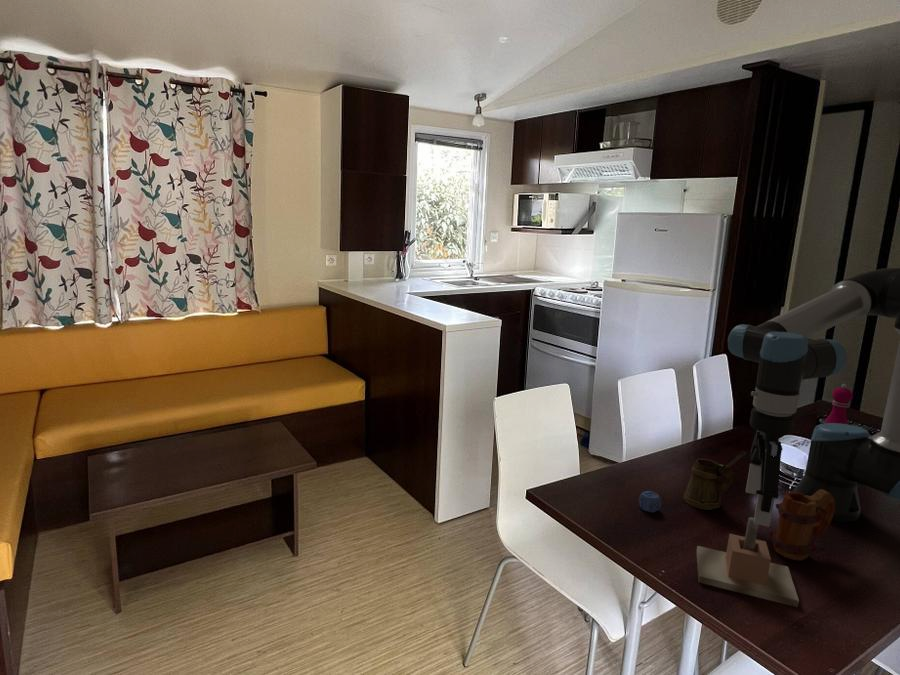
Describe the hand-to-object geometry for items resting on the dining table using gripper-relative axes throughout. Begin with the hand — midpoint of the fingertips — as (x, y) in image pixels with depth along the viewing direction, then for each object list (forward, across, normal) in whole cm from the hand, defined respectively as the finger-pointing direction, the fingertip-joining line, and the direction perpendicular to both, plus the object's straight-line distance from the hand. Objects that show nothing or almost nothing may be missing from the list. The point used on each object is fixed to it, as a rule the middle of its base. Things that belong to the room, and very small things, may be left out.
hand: (756, 508), depth 116 cm
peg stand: (+16, 0, 0) cm, 16 cm away
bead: (+15, 0, 0) cm, 15 cm away
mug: (+17, -16, +13) cm, 26 cm away
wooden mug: (+17, -31, -5) cm, 35 cm away
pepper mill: (+18, -107, +40) cm, 115 cm away
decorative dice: (+16, -22, -20) cm, 34 cm away
